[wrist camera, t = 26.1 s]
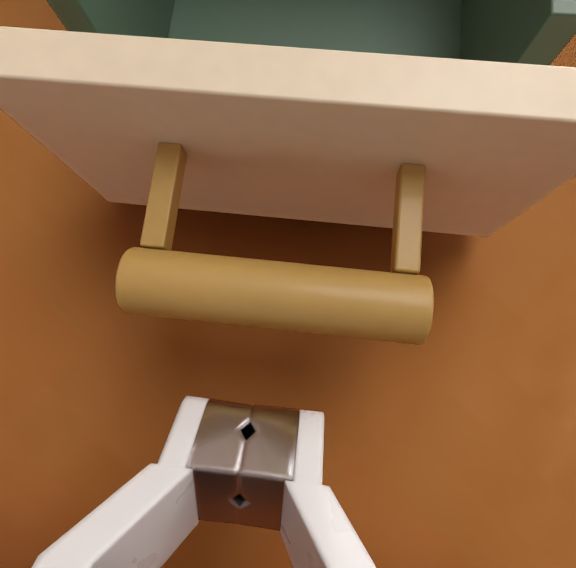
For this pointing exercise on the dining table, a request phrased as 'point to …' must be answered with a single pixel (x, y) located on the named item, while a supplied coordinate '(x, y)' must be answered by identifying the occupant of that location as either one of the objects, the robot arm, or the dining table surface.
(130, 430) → the dining table surface
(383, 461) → the dining table surface
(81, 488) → the dining table surface
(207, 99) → the drawer
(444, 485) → the dining table surface
